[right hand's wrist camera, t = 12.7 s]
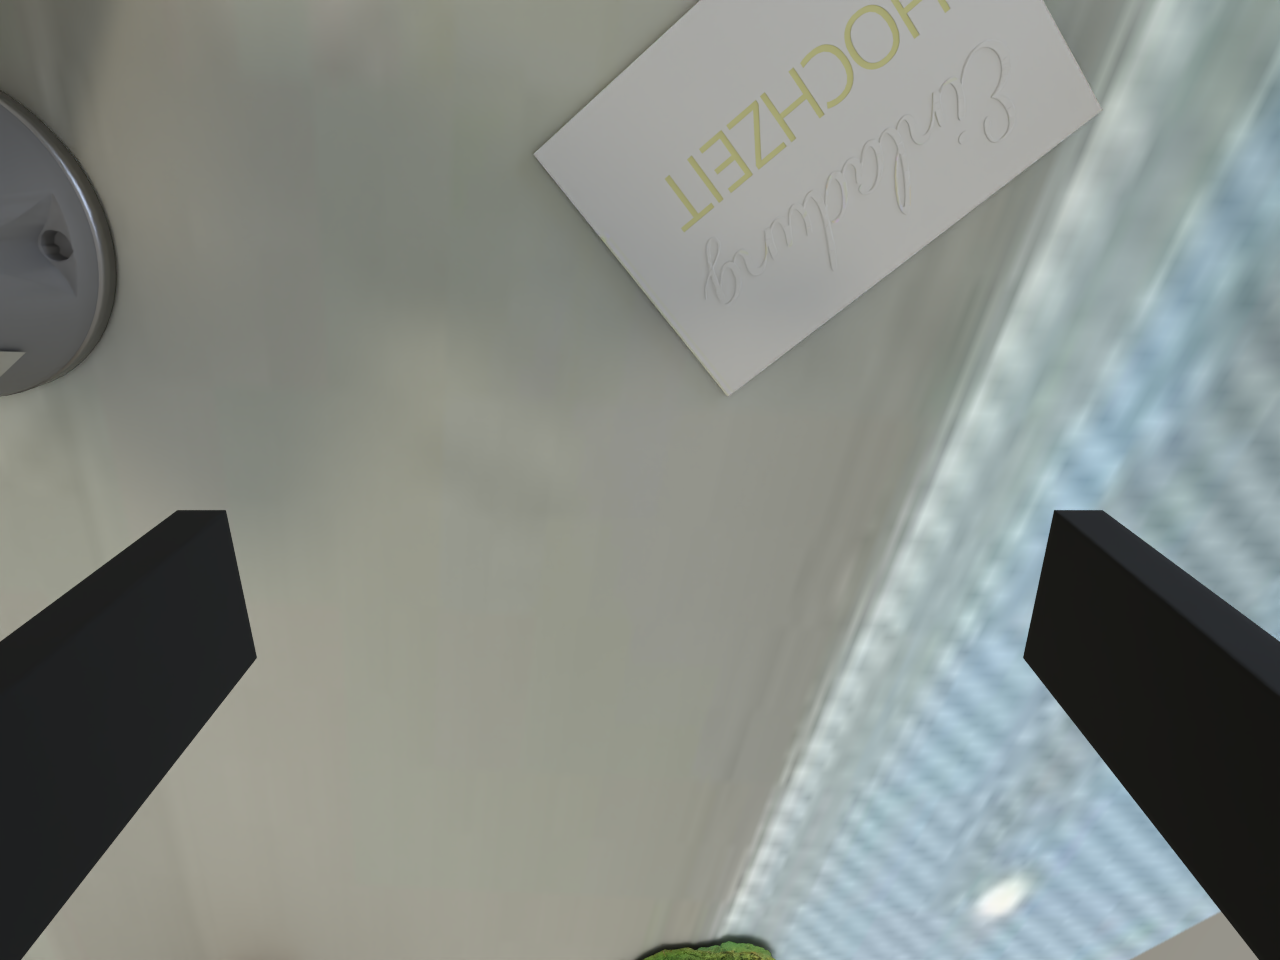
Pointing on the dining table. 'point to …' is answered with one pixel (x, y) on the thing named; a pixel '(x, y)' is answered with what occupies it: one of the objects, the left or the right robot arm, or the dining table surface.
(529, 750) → the dining table surface
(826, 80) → the invitation card
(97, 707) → the right robot arm
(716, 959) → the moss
